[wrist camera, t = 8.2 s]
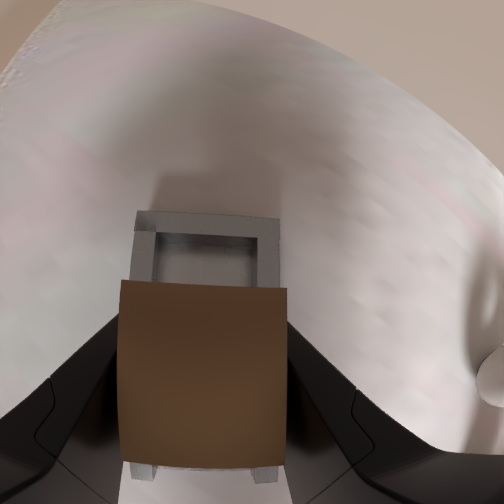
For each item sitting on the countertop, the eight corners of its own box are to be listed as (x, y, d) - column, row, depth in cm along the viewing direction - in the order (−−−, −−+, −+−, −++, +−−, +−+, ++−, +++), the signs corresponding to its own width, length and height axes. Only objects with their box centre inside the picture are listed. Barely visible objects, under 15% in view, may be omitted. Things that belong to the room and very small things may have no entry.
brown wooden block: (234, 392, 15) (284, 465, 5) (169, 390, 14) (121, 460, 5) (235, 319, 16) (286, 288, 6) (170, 317, 15) (121, 279, 6)
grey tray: (268, 465, 15) (278, 481, 12) (138, 462, 14) (130, 478, 11) (269, 234, 19) (279, 218, 17) (144, 226, 18) (137, 210, 16)
